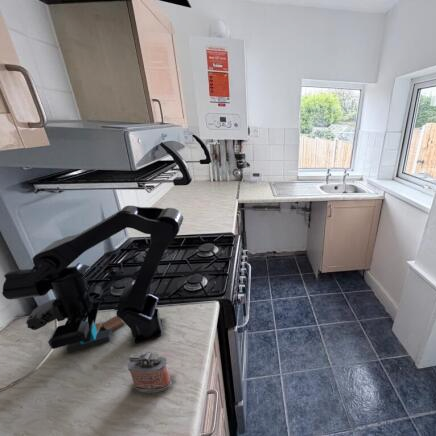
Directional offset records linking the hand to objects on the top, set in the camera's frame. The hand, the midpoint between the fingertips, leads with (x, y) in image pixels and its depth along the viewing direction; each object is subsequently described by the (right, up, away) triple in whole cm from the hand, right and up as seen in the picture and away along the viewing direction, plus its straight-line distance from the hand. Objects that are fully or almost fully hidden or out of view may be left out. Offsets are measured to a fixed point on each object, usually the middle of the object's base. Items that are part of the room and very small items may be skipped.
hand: (89, 336), depth 63 cm
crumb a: (-2, -1, +3) cm, 4 cm away
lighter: (+23, -7, -9) cm, 25 cm away
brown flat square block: (+2, 0, +6) cm, 6 cm away
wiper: (0, -2, +1) cm, 2 cm away
